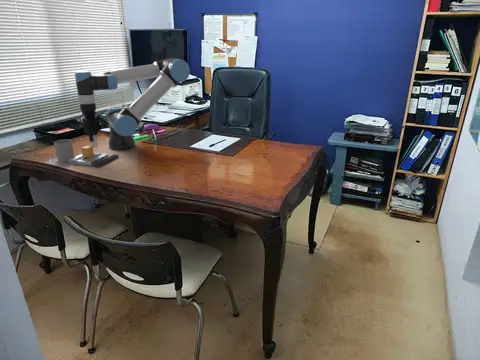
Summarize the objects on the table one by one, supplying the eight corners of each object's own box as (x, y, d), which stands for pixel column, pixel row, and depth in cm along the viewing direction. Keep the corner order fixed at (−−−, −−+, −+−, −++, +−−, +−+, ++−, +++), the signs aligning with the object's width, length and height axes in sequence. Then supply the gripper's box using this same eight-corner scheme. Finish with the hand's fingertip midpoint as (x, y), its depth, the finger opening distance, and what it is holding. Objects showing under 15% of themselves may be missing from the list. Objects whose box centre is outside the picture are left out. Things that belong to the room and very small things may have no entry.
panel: (87, 155, 190) (86, 150, 189) (108, 157, 186) (108, 152, 185) (68, 163, 178) (67, 158, 177) (91, 166, 174) (90, 161, 173)
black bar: (113, 156, 188) (113, 154, 187) (118, 157, 187) (118, 154, 186) (93, 167, 173) (92, 164, 172) (98, 167, 172) (98, 164, 171)
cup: (56, 162, 179) (52, 144, 175) (59, 157, 186) (55, 139, 182) (73, 161, 181) (70, 143, 177) (76, 156, 188) (72, 138, 184)
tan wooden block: (87, 155, 183) (86, 145, 181) (94, 155, 182) (92, 146, 180) (82, 157, 180) (81, 147, 178) (89, 158, 179) (87, 148, 177)
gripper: (89, 100, 183) (96, 143, 192) (72, 104, 171) (80, 149, 180) (101, 101, 181) (107, 144, 190) (84, 105, 169) (92, 151, 178)
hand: (94, 146), depth 185 cm, fingers closed
